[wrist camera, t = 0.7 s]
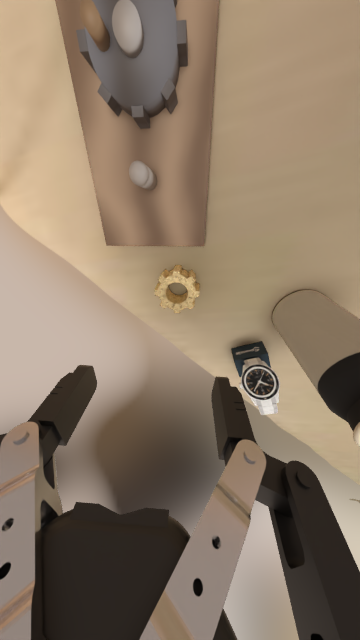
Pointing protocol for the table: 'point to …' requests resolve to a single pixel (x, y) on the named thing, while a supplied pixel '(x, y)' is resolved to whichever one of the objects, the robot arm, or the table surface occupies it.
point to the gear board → (145, 112)
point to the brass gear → (171, 299)
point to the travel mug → (324, 349)
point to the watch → (257, 376)
